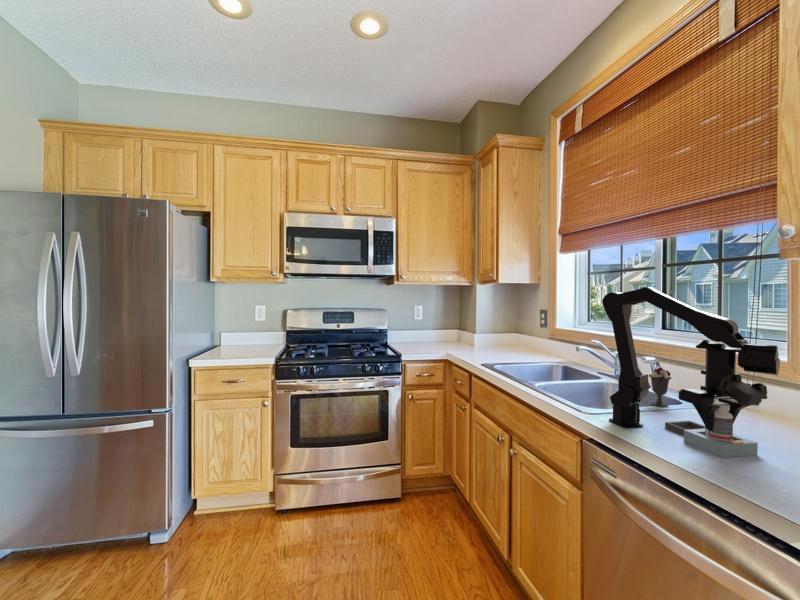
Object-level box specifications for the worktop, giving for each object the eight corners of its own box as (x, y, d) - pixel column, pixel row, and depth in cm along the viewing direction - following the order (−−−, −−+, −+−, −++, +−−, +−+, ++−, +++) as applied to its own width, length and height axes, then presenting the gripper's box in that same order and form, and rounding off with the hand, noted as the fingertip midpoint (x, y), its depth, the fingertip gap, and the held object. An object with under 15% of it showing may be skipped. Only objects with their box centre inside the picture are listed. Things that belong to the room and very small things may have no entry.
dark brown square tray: (692, 439, 98) (693, 433, 98) (665, 427, 107) (665, 422, 106) (718, 437, 100) (719, 431, 100) (689, 425, 108) (689, 420, 108)
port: (723, 458, 87) (723, 444, 87) (683, 441, 97) (683, 428, 97) (757, 454, 89) (757, 441, 89) (715, 438, 99) (715, 426, 98)
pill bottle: (737, 443, 90) (738, 407, 89) (713, 441, 91) (714, 405, 91) (723, 435, 95) (724, 400, 95) (700, 433, 96) (701, 399, 96)
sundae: (648, 406, 127) (648, 362, 127) (647, 401, 133) (648, 360, 132) (671, 409, 123) (672, 365, 123) (670, 404, 129) (671, 362, 129)
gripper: (722, 376, 83) (721, 445, 83) (788, 373, 86) (786, 439, 86) (677, 366, 94) (676, 427, 94) (737, 364, 97) (735, 422, 97)
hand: (718, 429), depth 93 cm, fingers closed on pill bottle, 5 cm apart
